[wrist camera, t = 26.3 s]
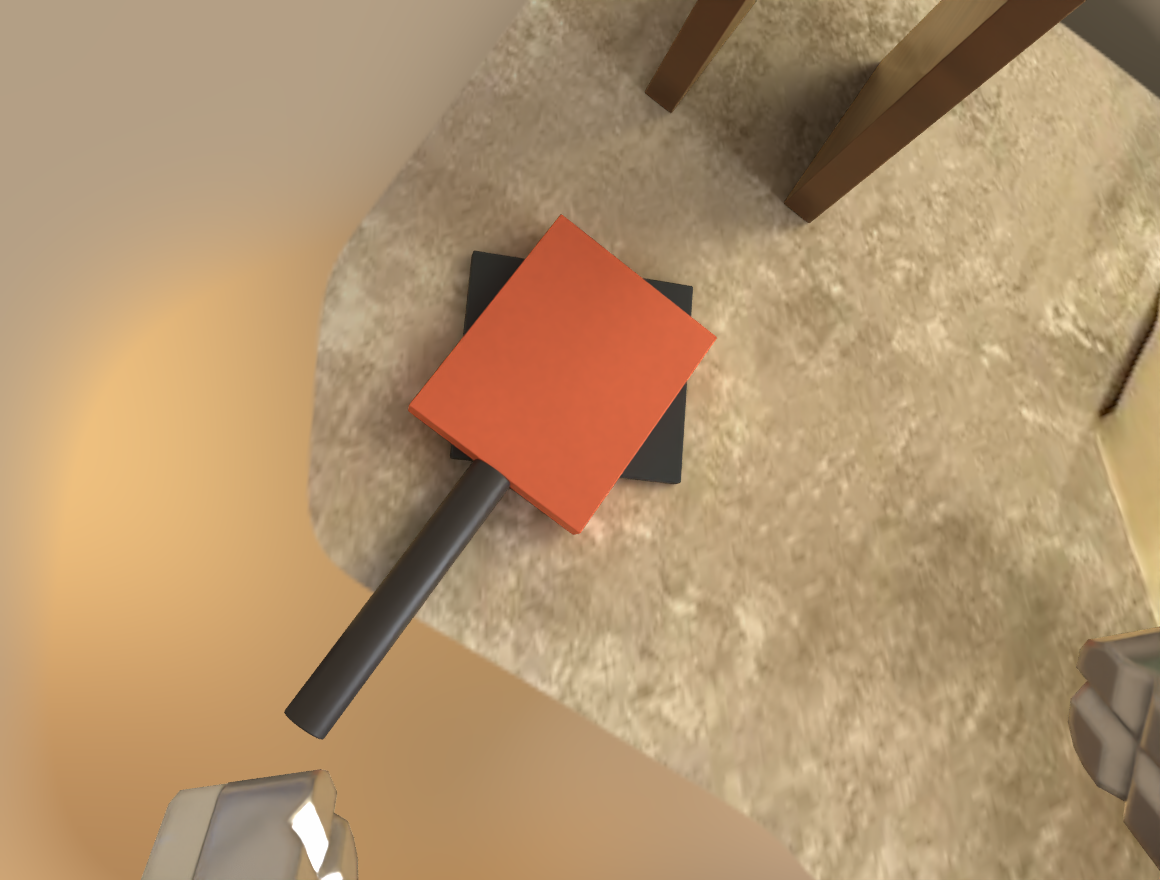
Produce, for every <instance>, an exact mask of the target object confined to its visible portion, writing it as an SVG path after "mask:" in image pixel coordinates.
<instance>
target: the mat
mask: <svg viewBox="0 0 1160 880" xmlns="http://www.w3.org/2000/svg"><path fill="white" fill-rule="evenodd" d="M524 260H525V259H522V258H516V257H510V256H504V255H498V254H492V253H486V252H480V251H473V254H472V259H471V268H470V277H469V287H468V296H467V305H466V314H465V324H464V333H463V336H464V335H465V334H466V333H467V331H468V330H469V329H470V328H471V326H472V325H473V324H474V323H475V321H476V320H477V319H478V318H479V316H480V315H481V314H482V313H483V311H484V310H485V309H486V308H487V306H488V305H489V304H490V303H491V301H492V300H493V299H494V298H495V296H496V295H497V294H498V293H499V291H500V290H501V289H502V287H503V286H504V285H505V284H506V282H507V281H508V280H509V279H510V277H511V276H512V275H513V274H514V272H515V271H516V270H517V269H518V267H519V266H520V265H521V264H522V262H523V261H524ZM643 279H644V278H643ZM644 280H645V281H646V282H648V283H649V284H650V285H651V286H653V287H654V288H655V289H656V290H658V291H659V292H660V293H662V294H663V295H664V296H665V297H667V298H668V299H669V300H670V301H672V302H673V303H674V304H675V305H677V306H678V307H679V308H680V309H682V310H683V311H684V312H686V313H687V314H688V315H689V316H691V310H692V294H693V287H692V286H687V285H681V284H675V283H669V282H663V281H657V280H650V279H644ZM686 390H687V381H686V383H685V384H684V386H683V387H682V389H681V390H680V391H679V393H678V394H677V396H676V397H675V399H674V400H673V401H672V403H671V404H670V406H669V407H668V409H667V410H666V411H665V413H664V414H663V416H662V417H661V419H660V420H659V421H658V423H657V424H656V426H655V427H654V429H653V430H652V431H651V433H650V434H649V436H648V437H647V439H646V440H645V441H644V443H643V444H642V446H641V447H640V449H639V450H638V451H637V453H636V454H635V456H634V457H633V459H632V460H631V461H630V463H629V464H628V466H627V467H626V469H625V470H624V471H623V473H622V474H621V476H620V477H619V478H627V479H635V480H644V481H653V482H661V483H670V484H678V483H680V482H681V469H682V453H683V437H684V421H685V405H686ZM450 458H452V459H461V460H469V461H474V460H473V459H471V458H470V457H469V456H467V455H466V454H465V453H463V452H462V451H461V450H459V449H458V448H457V447H455V446H454V445H453V444H451V453H450Z"/></svg>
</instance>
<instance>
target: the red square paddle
mask: <svg viewBox="0 0 1160 880" xmlns="http://www.w3.org/2000/svg"><path fill="white" fill-rule="evenodd" d="M716 339H717V337H716V336H715V335H713V334H712V333H711V332H710V331H708V330H707V329H706V328H704V327H703V326H702V325H701V324H699V323H698V322H697V321H696V320H694V319H693V318H692V317H691V316H689V315H688V314H687V313H686V312H684V311H683V310H682V309H680V308H679V307H678V306H677V305H675V304H674V303H673V302H672V301H670V300H669V299H668V298H667V297H665V296H664V295H663V294H662V293H660V292H659V291H658V290H656V289H655V288H654V287H653V286H651V285H650V284H649V283H648V282H646V281H645V280H644V279H643V278H641V277H640V276H639V275H638V274H636V273H635V272H634V271H632V270H631V269H630V268H629V267H627V266H626V265H625V264H624V263H622V262H621V261H620V260H619V259H617V258H616V257H615V256H614V255H612V254H611V253H610V252H608V251H607V250H606V249H605V248H603V247H602V246H601V245H600V244H598V243H597V242H596V241H595V240H593V239H592V238H591V237H590V236H588V235H587V234H586V233H584V232H583V231H582V230H581V229H579V228H578V227H577V226H576V225H574V224H573V223H572V222H571V221H569V220H568V219H567V218H566V217H564V216H563V215H560V216H559V217H558V218H557V220H556V221H555V222H554V223H553V225H552V226H551V227H550V229H549V230H548V231H547V232H546V234H545V235H544V236H543V237H542V239H541V240H540V241H539V242H538V244H537V245H536V246H535V247H534V249H533V250H532V251H531V252H530V254H529V255H528V256H527V257H526V259H525V260H524V261H523V262H522V264H521V265H520V266H519V267H518V269H517V270H516V271H515V272H514V274H513V275H512V276H511V277H510V279H509V280H508V281H507V282H506V284H505V285H504V286H503V287H502V289H501V290H500V291H499V293H498V294H497V295H496V296H495V298H494V299H493V300H492V301H491V303H490V304H489V305H488V306H487V308H486V309H485V310H484V311H483V313H482V314H481V315H480V316H479V318H478V319H477V320H476V321H475V323H474V324H473V325H472V326H471V328H470V329H469V330H468V331H467V333H466V334H465V335H464V336H463V338H462V339H461V340H460V341H459V343H458V344H457V345H456V346H455V348H454V349H453V350H452V352H451V353H450V354H449V355H448V357H447V358H446V359H445V360H444V362H443V363H442V364H441V365H440V367H439V368H438V369H437V370H436V372H435V373H434V374H433V375H432V377H431V378H430V379H429V380H428V382H427V383H426V384H425V385H424V387H423V388H422V389H421V390H420V392H419V393H418V394H417V395H416V397H415V398H414V399H413V400H412V402H411V403H410V404H409V408H408V411H409V412H410V413H412V414H413V415H414V416H416V417H417V418H418V419H420V420H421V421H422V422H423V423H425V424H426V425H427V426H429V427H430V428H431V429H433V430H434V431H435V432H437V433H438V434H439V435H441V436H442V437H443V438H445V439H446V440H447V441H449V442H450V443H451V444H453V445H454V446H455V447H457V448H458V449H459V450H461V451H462V452H463V453H465V454H466V455H467V456H469V457H470V458H471V459H473V460H474V461H473V463H472V464H471V465H470V467H469V468H468V469H467V471H466V472H465V473H464V474H463V476H462V477H461V478H460V480H459V481H458V482H457V484H456V485H455V486H454V488H453V489H452V490H451V492H450V493H449V494H448V496H447V497H446V498H445V500H444V501H443V502H442V504H441V505H440V506H439V508H438V509H437V510H436V511H435V513H434V514H433V515H432V517H431V518H430V519H429V521H428V522H427V523H426V525H425V526H424V527H423V529H422V530H421V531H420V533H419V534H418V535H417V537H416V538H415V539H414V541H413V542H412V543H411V544H410V546H409V547H408V548H407V550H406V551H405V552H404V554H403V555H402V556H401V558H400V559H399V560H398V562H397V563H396V564H395V566H394V567H393V568H392V570H391V571H390V572H389V574H388V575H387V576H386V578H385V579H384V580H383V581H382V583H381V584H380V585H379V587H378V588H377V589H376V591H375V592H374V593H373V595H372V596H371V597H370V599H369V600H368V602H367V603H366V604H365V605H364V607H363V608H362V609H361V611H360V612H359V613H358V615H357V616H356V617H355V619H354V620H353V621H352V622H351V624H350V625H349V626H348V628H347V629H346V630H345V632H344V633H343V634H342V636H341V637H340V638H339V640H338V641H337V642H336V644H335V645H334V646H333V648H332V649H331V650H330V652H329V653H328V654H327V656H326V657H325V658H324V659H323V661H322V662H321V663H320V665H319V666H318V667H317V669H316V670H315V671H314V673H313V674H312V675H311V677H310V678H309V679H308V681H307V682H306V683H305V684H304V686H303V687H302V688H301V690H300V691H299V692H298V694H297V695H296V696H295V698H294V699H293V700H292V702H291V703H290V704H289V706H288V707H287V708H286V710H285V712H284V713H285V714H286V716H287V717H288V718H289V719H290V720H291V721H292V722H293V723H295V724H296V725H297V726H298V727H300V728H301V729H303V730H304V731H306V732H307V733H309V734H310V735H312V736H314V737H316V738H318V739H324V738H325V736H326V735H327V734H328V732H329V731H330V730H331V728H332V727H333V726H334V724H335V723H336V722H337V720H338V719H339V717H340V716H341V715H342V713H343V712H344V711H345V709H346V708H347V707H348V705H349V704H350V703H351V701H352V700H353V699H354V697H355V696H356V694H357V693H358V691H359V690H360V689H361V688H362V686H363V685H364V684H365V682H366V681H367V680H368V678H369V677H370V675H371V674H372V673H373V671H374V670H375V669H376V667H377V666H378V665H379V663H380V662H381V660H382V659H383V658H384V656H385V655H386V654H387V652H388V651H389V650H390V648H391V647H392V646H393V644H394V643H395V641H396V640H397V639H398V637H399V636H400V635H401V633H402V632H403V630H404V629H405V628H406V627H407V625H408V624H409V623H410V621H411V620H412V618H413V617H414V616H415V614H416V613H417V612H418V610H419V609H420V608H421V606H422V605H423V604H424V602H425V601H426V600H427V598H428V597H429V595H430V594H431V593H432V591H433V590H434V589H435V587H436V586H437V585H438V583H439V582H440V581H441V579H442V578H443V576H444V575H445V574H446V572H447V571H448V570H449V568H450V567H451V566H452V564H453V563H454V562H455V560H456V559H457V557H458V556H459V555H460V553H461V552H462V551H463V549H464V548H465V547H466V545H467V544H468V543H469V541H470V540H471V538H472V537H473V536H474V534H475V533H476V532H477V530H478V529H479V528H480V526H481V525H482V524H483V522H484V521H485V519H486V518H487V517H488V515H489V514H490V513H491V511H492V510H493V509H494V507H495V506H496V505H497V503H498V502H499V501H500V499H501V498H502V496H503V495H504V494H505V492H506V491H507V490H508V488H509V487H510V488H511V489H513V490H514V491H515V492H517V493H518V494H519V495H521V496H522V497H523V498H525V499H526V500H527V501H529V502H530V503H531V504H533V505H534V506H535V507H537V508H538V509H539V510H541V511H542V512H543V513H545V514H546V515H547V516H549V517H550V518H551V519H553V520H554V521H555V522H557V523H558V524H559V525H561V526H562V527H563V528H565V529H566V530H567V531H569V532H570V533H571V534H573V535H575V534H579V533H581V531H582V530H583V528H584V527H585V526H586V524H587V523H588V521H589V520H590V518H591V517H592V516H593V514H594V513H595V511H596V510H597V508H598V507H599V506H600V504H601V503H602V501H603V500H604V498H605V497H606V496H607V494H608V493H609V491H610V490H611V489H612V487H613V486H614V484H615V483H616V481H617V480H618V479H619V477H620V476H621V474H622V473H623V471H624V470H625V469H626V467H627V466H628V464H629V463H630V461H631V460H632V459H633V457H634V456H635V454H636V453H637V451H638V450H639V449H640V447H641V446H642V444H643V443H644V441H645V440H646V439H647V437H648V436H649V434H650V433H651V431H652V430H653V429H654V427H655V426H656V424H657V423H658V421H659V420H660V419H661V417H662V416H663V414H664V413H665V411H666V410H667V409H668V407H669V406H670V404H671V403H672V401H673V400H674V399H675V397H676V396H677V394H678V393H679V391H680V390H681V389H682V387H683V386H684V384H685V383H686V381H687V380H688V379H689V377H690V376H691V374H692V373H693V371H694V370H695V369H696V367H697V366H698V364H699V363H700V361H701V360H702V359H703V357H704V356H705V354H706V353H707V351H708V350H709V349H710V347H711V346H712V344H713V343H714V341H715V340H716Z"/></svg>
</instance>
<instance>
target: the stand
mask: <svg viewBox="0 0 1160 880" xmlns="http://www.w3.org/2000/svg"><path fill="white" fill-rule="evenodd" d="M756 1H757V0H697V2H696V4H695V5H694V7H693V9H692V11H691V12H690V14H689V16H688V18H687V19H686V21H685V23H684V25H683V26H682V28H681V30H680V31H679V33H678V35H677V37H676V38H675V40H674V42H673V44H672V45H671V47H670V49H669V50H668V52H667V54H666V56H665V57H664V59H663V61H662V63H661V64H660V66H659V68H658V70H657V71H656V73H655V75H654V76H653V78H652V80H651V82H650V83H649V85H648V87H647V89H646V90H645V93H646V94H647V95H648V96H650V97H651V98H652V99H653V100H655V101H656V102H657V103H659V104H660V105H661V106H662V107H664V108H665V109H666V110H667V111H669V112H670V113H672V112H673V111H674V109H675V108H676V107H677V105H678V104H679V103H680V101H681V100H682V99H683V97H684V96H685V95H686V93H687V92H688V91H689V89H690V88H691V87H692V85H693V84H694V83H695V82H696V80H697V79H698V78H699V76H700V75H701V74H702V72H703V71H704V70H705V68H706V67H707V66H708V64H709V63H710V62H711V60H712V59H713V58H714V56H715V55H716V54H717V53H718V51H719V50H720V49H721V47H722V46H723V45H724V43H725V42H726V41H727V39H728V38H729V37H730V35H731V34H732V33H733V31H734V30H735V29H736V27H737V26H738V25H739V23H740V22H741V21H742V20H743V18H744V17H745V16H746V14H747V13H748V12H749V10H750V9H751V8H752V6H753V5H754V4H755V2H756ZM1085 1H1086V0H941V1H940V2H939V3H938V4H937V5H936V6H935V7H934V8H933V9H932V10H931V11H930V12H929V13H928V14H927V15H926V16H925V17H924V18H923V19H922V20H921V21H920V22H919V23H918V24H917V25H916V26H915V27H914V28H913V29H912V30H911V31H910V32H909V33H908V34H907V36H906V37H905V38H904V39H903V40H902V41H901V42H900V43H899V44H898V45H897V46H896V47H895V48H894V49H893V50H892V51H891V52H890V53H889V54H888V55H887V56H886V57H885V58H884V59H883V60H882V61H881V62H880V64H879V65H878V66H877V68H876V69H875V71H874V72H873V74H872V75H871V77H870V78H869V80H868V81H867V82H866V84H865V85H864V87H863V88H862V90H861V91H860V93H859V94H858V95H857V97H856V98H855V100H854V101H853V103H852V104H851V106H850V107H849V109H848V110H847V111H846V113H845V114H844V116H843V117H842V119H841V120H840V122H839V123H838V125H837V126H836V127H835V129H834V130H833V132H832V133H831V135H830V136H829V138H828V139H827V141H826V142H825V143H824V145H823V146H822V148H821V149H820V151H819V152H818V154H817V155H816V157H815V158H814V159H813V161H812V162H811V164H810V165H809V167H808V168H807V170H806V171H805V173H804V174H803V175H802V177H801V178H800V180H799V181H798V183H797V184H796V186H795V187H794V189H793V190H792V191H791V193H790V194H789V196H788V197H787V199H786V200H785V202H784V204H785V205H786V206H788V207H789V208H790V209H791V210H793V211H794V212H795V213H796V214H798V215H799V216H800V217H802V218H803V219H804V220H805V221H807V222H808V223H810V222H812V221H813V220H814V219H815V218H817V217H818V216H819V215H820V214H822V213H823V212H824V211H825V210H827V209H828V208H829V207H830V206H832V205H833V204H834V203H835V202H837V201H838V200H839V199H840V198H842V197H843V196H844V195H845V194H846V193H848V192H849V191H850V190H851V189H853V188H854V187H855V186H856V185H858V184H859V183H860V182H861V181H863V180H864V179H865V178H866V177H868V176H869V175H870V174H871V173H873V172H874V171H875V170H876V169H878V168H879V167H880V166H881V165H882V164H884V163H885V162H886V161H887V160H889V159H890V158H891V157H892V156H894V155H895V154H896V153H897V152H899V151H900V150H901V149H902V148H904V147H905V146H906V145H907V144H909V143H910V142H911V141H912V140H914V139H915V138H916V137H917V136H918V135H920V134H921V133H922V132H923V131H925V130H926V129H927V128H928V127H930V126H931V125H932V124H933V123H935V122H936V121H937V120H938V119H940V118H941V117H942V116H943V115H945V114H946V113H947V112H948V111H950V110H951V109H952V108H953V107H955V106H956V105H957V104H958V103H959V102H961V101H962V100H963V99H964V98H966V97H967V96H968V95H969V94H971V93H972V92H973V91H974V90H976V89H977V88H978V87H979V86H981V85H982V84H983V83H984V82H986V81H987V80H988V79H989V78H991V77H992V76H993V75H994V74H995V73H997V72H998V71H999V70H1000V69H1002V68H1003V67H1004V66H1005V65H1007V64H1008V63H1009V62H1010V61H1012V60H1013V59H1014V58H1015V57H1017V56H1018V55H1019V54H1020V53H1022V52H1023V51H1024V50H1025V49H1027V48H1028V47H1029V46H1030V45H1032V44H1033V43H1034V42H1035V41H1036V40H1038V39H1039V38H1040V37H1041V36H1043V35H1044V34H1045V33H1046V32H1048V31H1049V30H1050V29H1051V28H1053V27H1054V26H1055V25H1056V24H1058V23H1059V22H1060V21H1061V20H1063V19H1064V18H1065V17H1066V16H1068V15H1069V14H1070V13H1071V12H1072V11H1074V10H1075V9H1076V8H1077V7H1079V6H1080V5H1081V4H1082V3H1084V2H1085Z"/></svg>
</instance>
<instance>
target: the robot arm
mask: <svg viewBox="0 0 1160 880" xmlns="http://www.w3.org/2000/svg"><path fill="white" fill-rule="evenodd" d="M1076 668H1077V669H1078V670H1079V671H1080V673H1081V674H1082V675H1083V676H1084V678H1085V679H1086V680H1087V682H1086V683H1085V684H1084V685H1083V686H1082V687H1081V688H1080V689H1079V690H1078V691H1077V692H1076V693H1075V695H1074V696H1073V697H1072V698H1071V701H1070V709H1069V717H1068V724H1069V729H1070V733H1071V738H1072V742H1073V746H1074V749H1075V751H1076V753H1077V755H1078V757H1079V759H1080V761H1081V763H1082V765H1083V767H1084V768H1085V770H1086V771H1087V773H1088V774H1089V775H1090V777H1091V778H1092V780H1093V781H1094V782H1095V784H1096V785H1097V786H1098V787H1099V788H1101V789H1103V790H1105V791H1107V792H1108V793H1110V794H1112V795H1114V796H1116V797H1117V798H1119V799H1121V800H1123V801H1125V805H1124V820H1123V822H1124V823H1125V825H1126V826H1127V827H1128V829H1129V830H1130V831H1131V833H1132V834H1133V835H1134V837H1135V838H1136V840H1137V841H1138V842H1139V844H1140V845H1141V846H1142V848H1143V849H1144V850H1145V852H1146V853H1147V854H1148V856H1149V857H1150V858H1151V860H1152V861H1153V862H1154V864H1155V865H1156V866H1157V868H1158V869H1159V870H1160V627H1155V628H1149V629H1144V630H1138V631H1133V632H1127V633H1121V634H1116V635H1110V636H1105V637H1099V638H1094V639H1088V640H1087V641H1086V643H1085V644H1084V645H1083V646H1082V648H1081V649H1080V652H1079V657H1078V662H1077V667H1076ZM336 796H337V791H336V789H335V786H334V784H333V781H332V779H331V777H330V774H329V772H328V771H326V770H321V769H320V770H313V771H306V772H299V773H292V774H285V775H278V776H271V777H264V778H257V779H250V780H242V781H236V782H229V783H227V784H221V785H214V786H207V787H200V788H193V789H186V790H180V791H179V792H178V794H177V795H176V796H175V797H174V798H173V799H172V801H171V802H170V803H169V805H168V807H167V810H166V813H165V816H164V818H163V821H162V824H161V827H160V829H159V832H158V835H157V837H156V840H155V843H154V846H153V849H152V851H151V854H150V857H149V859H148V862H147V865H146V868H145V870H144V873H143V876H142V878H141V880H358V857H357V852H356V847H355V842H354V837H353V834H352V832H351V828H350V826H349V823H348V821H347V820H345V819H344V818H342V817H340V816H339V815H337V814H335V813H334V809H335V803H336Z"/></svg>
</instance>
